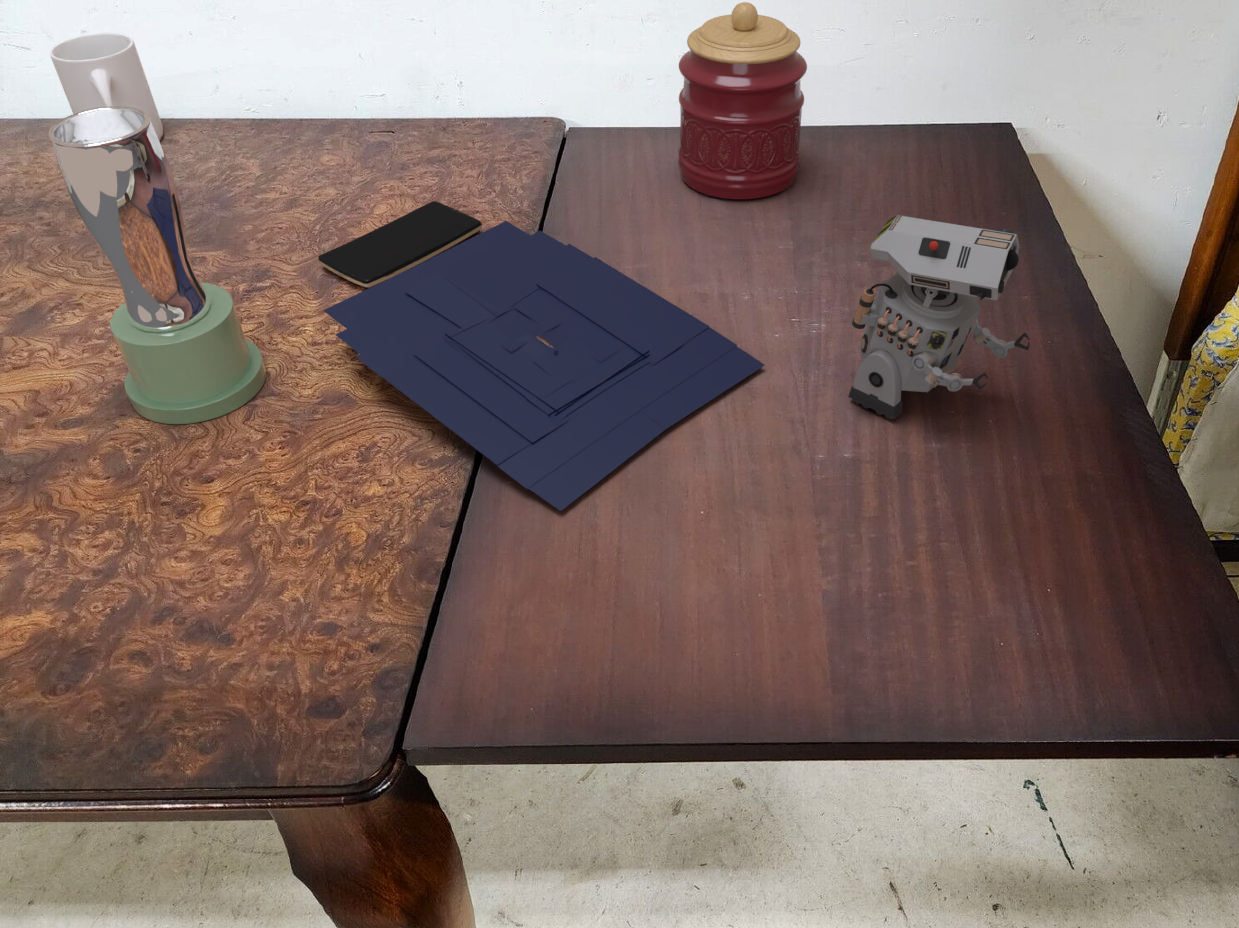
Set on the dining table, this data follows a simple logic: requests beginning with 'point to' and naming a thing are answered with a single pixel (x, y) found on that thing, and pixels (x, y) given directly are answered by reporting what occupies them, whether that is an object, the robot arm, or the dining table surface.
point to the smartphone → (400, 244)
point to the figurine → (928, 308)
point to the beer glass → (132, 212)
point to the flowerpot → (190, 365)
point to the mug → (104, 74)
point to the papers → (539, 356)
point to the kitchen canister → (741, 106)
